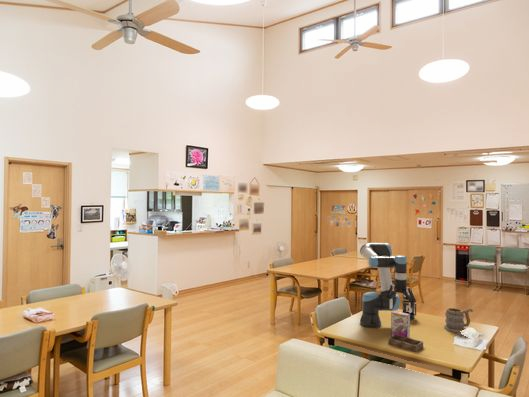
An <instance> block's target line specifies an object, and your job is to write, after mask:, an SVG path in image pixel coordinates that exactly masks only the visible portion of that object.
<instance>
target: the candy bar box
mask: <svg viewBox="0 0 529 397" xmlns="http://www.w3.org/2000/svg"><path fill="white" fill-rule="evenodd" d="M390 312H391V315H390V316H391V318H390V319H391V320H390V321H391V325H390V326H391V327H390V328H391V329H390V337H392V336H394V335H400V336H403V337H407V338H410V337H411V334H410V333H411V331H410V330H411V329H410V327H411V319H410V314H406V313H402V312H400V311H397V310H396V311H390Z"/></svg>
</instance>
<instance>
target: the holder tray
mask: <svg viewBox="0 0 529 397" xmlns="http://www.w3.org/2000/svg"><path fill="white" fill-rule="evenodd" d="M387 341H388V342H387V343H388V344H389V345H391V346H395V347H399V348H401V349H404V350H405V349H406V350H409V351H412V352H419V351H420V350H422V349H423V348H424V341H422V340H418V339H414V338H407V337H403V336H400V335H394V336H389V337H388V339H387Z"/></svg>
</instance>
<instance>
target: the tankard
mask: <svg viewBox="0 0 529 397" xmlns="http://www.w3.org/2000/svg"><path fill="white" fill-rule="evenodd" d="M470 312H471V313H473V312H474V310H473V309H472V308H470V307H469V308H466V309H465V310H464V309H463V310H462V309H460V308H456V307H448V308H446V312H445V317H446V318H445V323H446V325H443V329H445V330H447V331H448V332H451V333H461V332H460V331H462V330H464V329H465V330H466V327H469V326H470V324H471V319H470V316H469V314H470ZM464 318H465V319H466V322H465V320H464Z"/></svg>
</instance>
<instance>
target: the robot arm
mask: <svg viewBox="0 0 529 397" xmlns="http://www.w3.org/2000/svg"><path fill="white" fill-rule="evenodd" d="M392 252H393V250H392V247H391V245H390V244H389V243H388V242H367V243H364V244H362V245H361V247H360V249H359V253H360V255H361V257H363V258H365V259H367V261H368V266H369V268H374V269H375V268H377V269H378V276H379V283H380V289H381V291H379V292H377V291H368V292H365V293H363V294H362V314H361V316H360V319H359V324H360V326H362V327H366V328H371V329H373V328H380V327H381V326H382V320H381V318H380V313H379V312H382V311H384V312H385V311H387V312H388V311H389V312H393V311H396V312H397V311H398V310H399V309H400V304H401V298H400V295H399V294H402V295H405V296H406V297H407V299H408V300H409V302H410V303H409V311H408V312H409V313H412V308H413V303H414V304H416V303H417V300H416V298H415V295H414V294H413V290H412V287H407V282H408V281H407V278H408V277H407V275H408V274H407V271H408V270H407V268H408V267H407V263H408V261H407V260H408V259H407V256H405V255H393V254H392ZM390 268H392V269H394V284H393V280H392V274H391V269H390ZM408 292H409V294H408ZM397 293H398V294H397ZM409 295H410V296H409ZM408 300H407V301H408Z"/></svg>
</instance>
